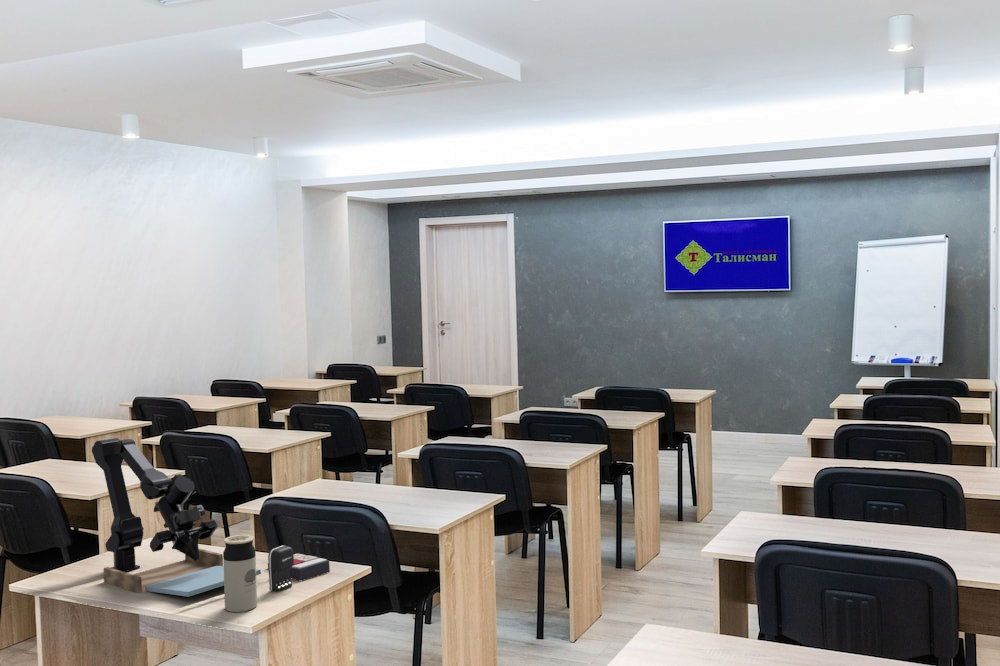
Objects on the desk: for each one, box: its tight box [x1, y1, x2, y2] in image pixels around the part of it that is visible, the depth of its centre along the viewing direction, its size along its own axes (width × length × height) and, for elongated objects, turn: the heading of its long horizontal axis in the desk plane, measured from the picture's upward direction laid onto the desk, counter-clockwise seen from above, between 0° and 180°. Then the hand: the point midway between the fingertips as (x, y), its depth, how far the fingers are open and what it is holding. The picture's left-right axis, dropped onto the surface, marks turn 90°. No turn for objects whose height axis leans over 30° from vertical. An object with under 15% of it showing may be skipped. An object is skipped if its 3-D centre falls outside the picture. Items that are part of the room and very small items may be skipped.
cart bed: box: [103, 548, 224, 594], centre depth 259 cm, size 17×27×5 cm, turn 143°
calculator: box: [267, 553, 331, 581], centre depth 263 cm, size 11×4×15 cm
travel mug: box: [222, 534, 258, 613], centre depth 232 cm, size 8×8×18 cm
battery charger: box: [267, 545, 294, 592], centre depth 247 cm, size 7×4×11 cm, turn 151°
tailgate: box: [144, 565, 262, 597], centre depth 248 cm, size 1×23×20 cm
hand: (197, 559), depth 249 cm, fingers closed
